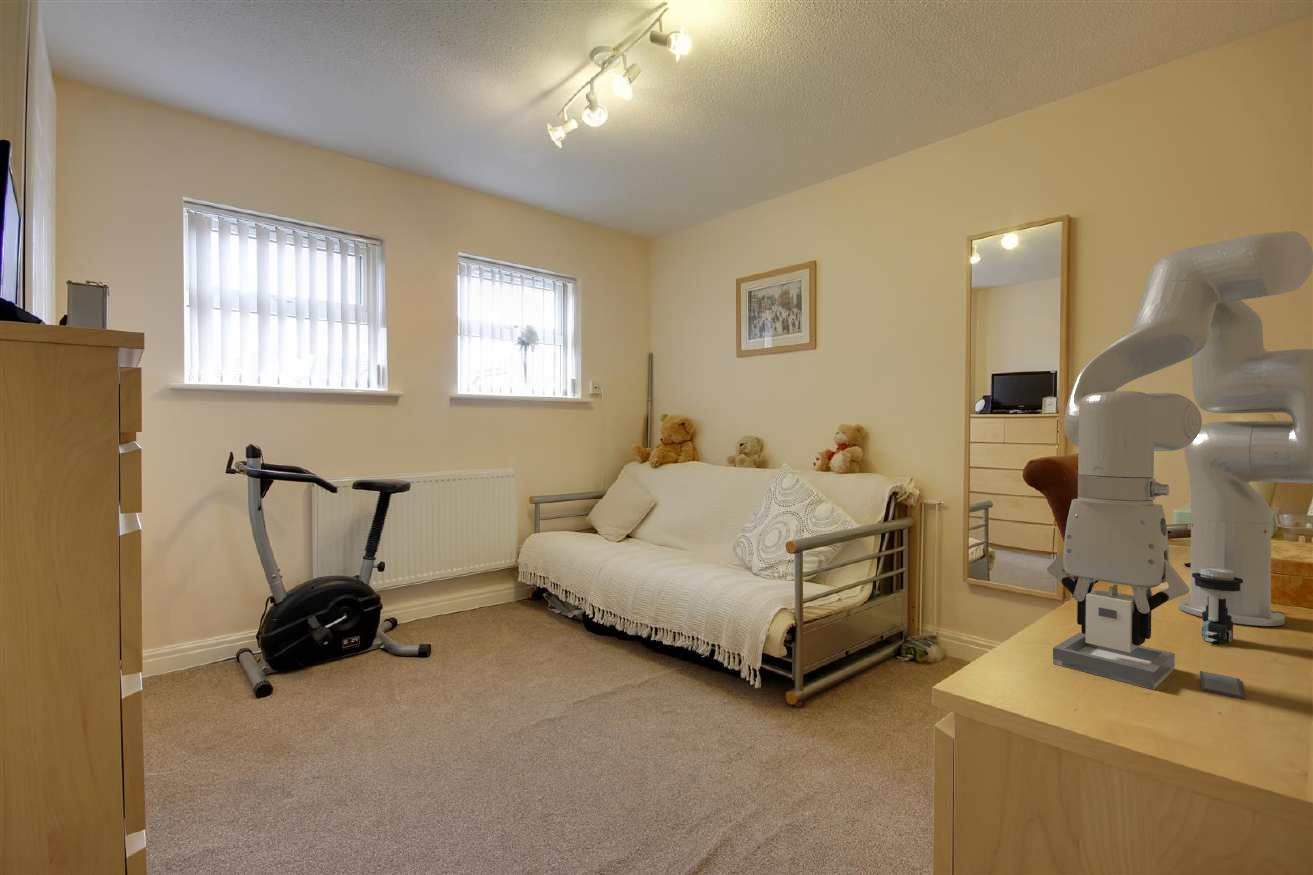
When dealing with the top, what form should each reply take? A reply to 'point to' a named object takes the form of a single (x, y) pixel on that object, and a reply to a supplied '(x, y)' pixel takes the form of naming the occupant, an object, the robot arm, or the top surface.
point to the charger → (1110, 619)
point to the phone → (1221, 685)
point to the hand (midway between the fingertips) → (1112, 635)
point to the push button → (1217, 602)
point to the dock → (1115, 661)
